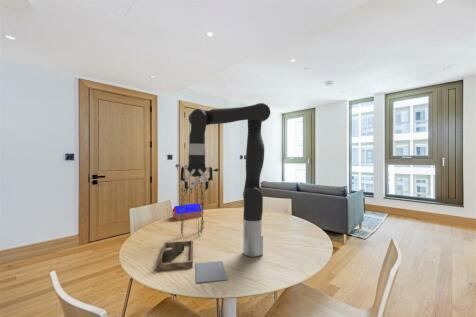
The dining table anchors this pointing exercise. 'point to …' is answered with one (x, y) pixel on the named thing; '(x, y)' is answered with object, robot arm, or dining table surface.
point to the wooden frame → (175, 264)
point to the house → (187, 211)
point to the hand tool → (172, 252)
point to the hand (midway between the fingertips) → (196, 189)
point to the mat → (210, 272)
